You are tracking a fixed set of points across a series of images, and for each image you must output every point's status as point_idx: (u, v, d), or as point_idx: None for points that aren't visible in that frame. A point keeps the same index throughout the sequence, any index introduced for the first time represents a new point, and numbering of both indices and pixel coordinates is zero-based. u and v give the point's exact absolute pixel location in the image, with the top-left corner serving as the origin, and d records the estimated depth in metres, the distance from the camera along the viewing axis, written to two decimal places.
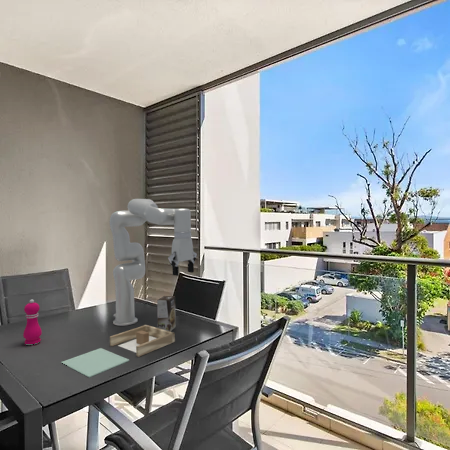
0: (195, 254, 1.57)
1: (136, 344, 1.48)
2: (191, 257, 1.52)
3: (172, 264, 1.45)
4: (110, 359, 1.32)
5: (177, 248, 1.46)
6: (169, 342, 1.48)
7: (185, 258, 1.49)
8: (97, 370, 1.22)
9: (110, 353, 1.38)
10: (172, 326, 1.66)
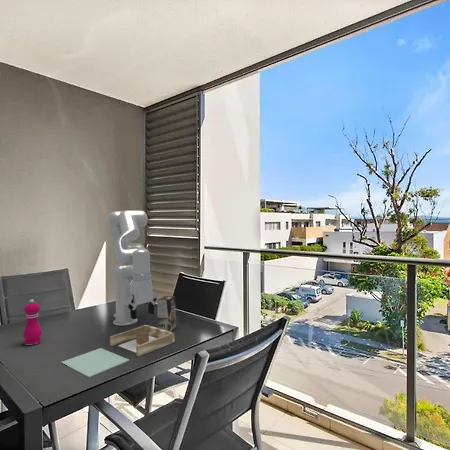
0: (156, 294, 1.54)
1: (136, 344, 1.48)
2: (151, 299, 1.49)
3: (129, 308, 1.42)
4: (110, 359, 1.32)
5: (135, 291, 1.43)
6: (169, 342, 1.48)
7: (144, 300, 1.46)
8: (97, 370, 1.22)
9: (110, 353, 1.38)
10: (172, 326, 1.66)
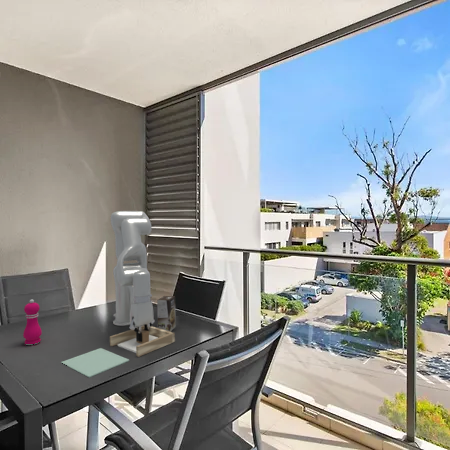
0: (153, 320, 1.52)
1: (136, 343, 1.47)
2: (151, 320, 1.50)
3: (135, 331, 1.45)
4: (110, 359, 1.32)
5: (135, 313, 1.44)
6: (169, 342, 1.48)
7: (144, 322, 1.46)
8: (97, 370, 1.22)
9: (110, 353, 1.38)
10: (172, 326, 1.66)
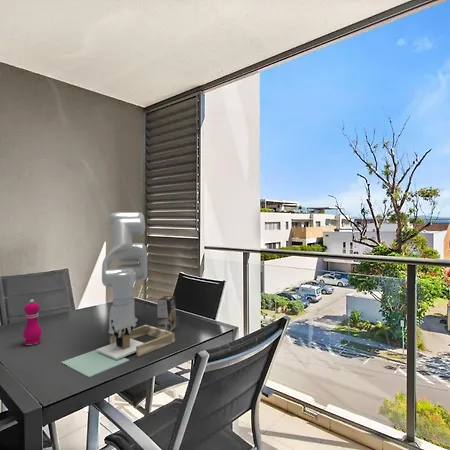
0: (134, 324, 1.45)
1: (116, 348, 1.40)
2: (132, 323, 1.42)
3: (115, 335, 1.37)
4: (110, 359, 1.32)
5: (114, 317, 1.36)
6: (169, 342, 1.48)
7: (124, 326, 1.39)
8: (97, 370, 1.22)
9: None
10: (172, 326, 1.66)
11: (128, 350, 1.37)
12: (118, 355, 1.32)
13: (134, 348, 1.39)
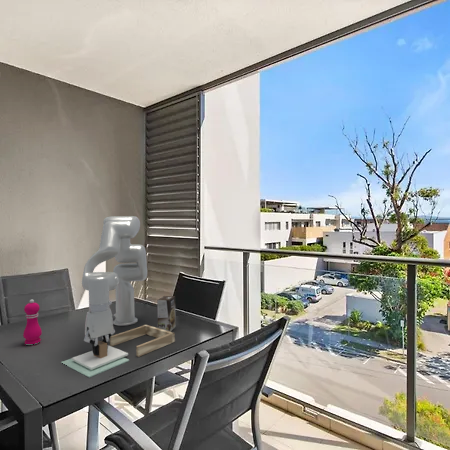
0: (113, 331, 1.36)
1: (92, 356, 1.31)
2: (110, 330, 1.33)
3: (91, 343, 1.29)
4: None
5: (90, 324, 1.27)
6: (169, 342, 1.48)
7: (101, 333, 1.30)
8: (97, 370, 1.22)
9: None
10: (172, 326, 1.66)
11: (105, 359, 1.29)
12: (93, 365, 1.24)
13: (112, 357, 1.31)
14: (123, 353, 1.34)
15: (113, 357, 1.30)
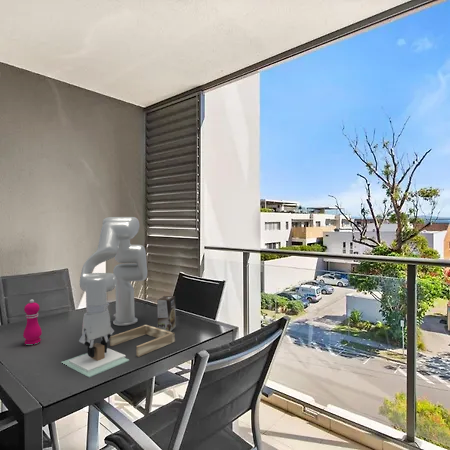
0: (112, 331, 1.36)
1: (90, 359, 1.30)
2: (107, 332, 1.32)
3: (86, 345, 1.27)
4: None
5: (87, 325, 1.26)
6: (169, 342, 1.48)
7: (98, 335, 1.29)
8: (97, 370, 1.22)
9: None
10: (172, 326, 1.66)
11: (103, 361, 1.28)
12: (90, 367, 1.23)
13: (109, 359, 1.30)
14: (121, 355, 1.33)
15: (110, 359, 1.30)
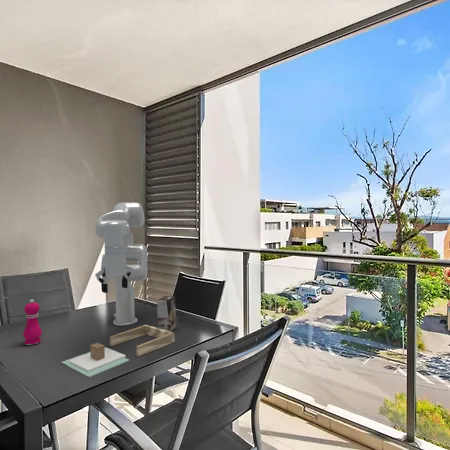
0: (130, 269, 1.49)
1: (90, 359, 1.30)
2: (124, 273, 1.44)
3: (100, 281, 1.38)
4: None
5: (106, 264, 1.38)
6: (169, 342, 1.48)
7: (116, 274, 1.41)
8: (97, 370, 1.22)
9: None
10: (172, 326, 1.66)
11: (103, 361, 1.28)
12: (90, 367, 1.23)
13: (109, 359, 1.30)
14: (121, 355, 1.33)
15: (110, 359, 1.30)
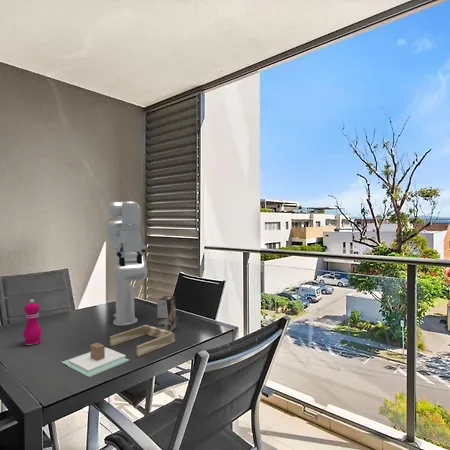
0: (144, 246, 1.61)
1: (90, 359, 1.30)
2: (139, 249, 1.57)
3: (118, 255, 1.50)
4: None
5: (123, 240, 1.51)
6: (169, 342, 1.48)
7: (132, 249, 1.54)
8: (97, 370, 1.22)
9: None
10: (172, 326, 1.66)
11: (103, 361, 1.28)
12: (90, 367, 1.23)
13: (109, 359, 1.30)
14: (121, 355, 1.33)
15: (110, 359, 1.30)
